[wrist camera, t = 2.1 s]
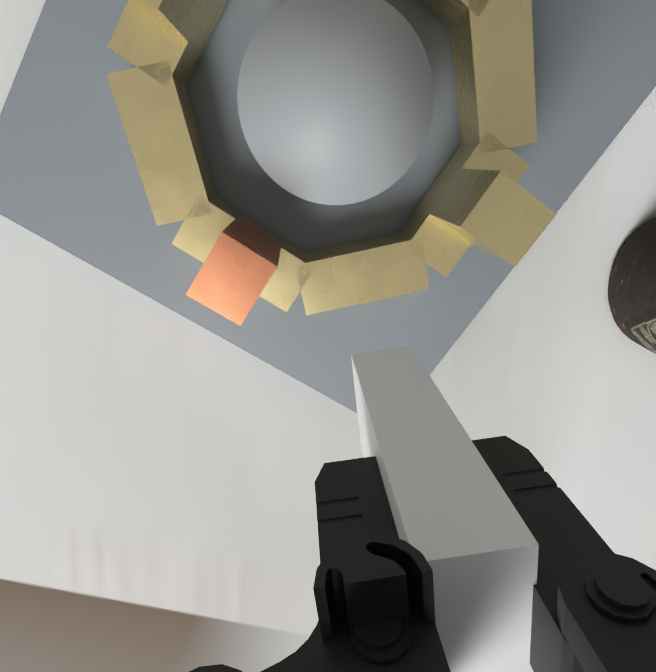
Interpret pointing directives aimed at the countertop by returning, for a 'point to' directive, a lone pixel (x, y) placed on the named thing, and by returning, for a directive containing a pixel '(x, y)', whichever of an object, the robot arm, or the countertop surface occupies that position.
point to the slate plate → (311, 348)
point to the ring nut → (356, 257)
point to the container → (636, 287)
